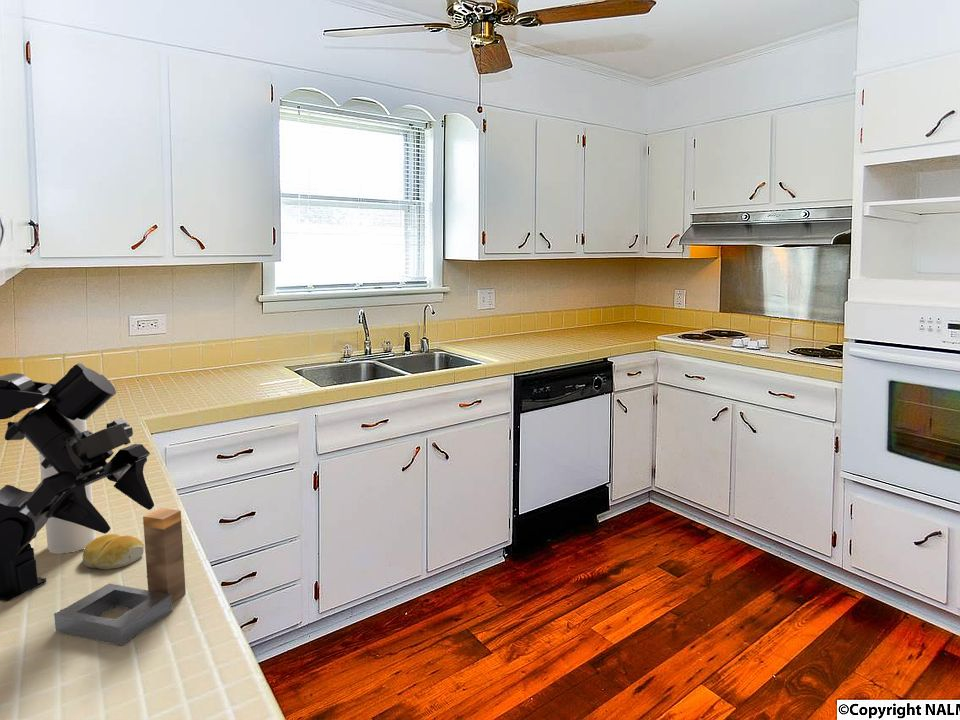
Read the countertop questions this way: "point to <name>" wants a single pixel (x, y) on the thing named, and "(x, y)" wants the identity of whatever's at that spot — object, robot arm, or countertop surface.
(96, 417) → the countertop surface
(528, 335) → the countertop surface
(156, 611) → the grey rectangular frame
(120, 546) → the bread roll
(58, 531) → the cylindrical container
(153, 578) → the walnut pin
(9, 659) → the countertop surface
